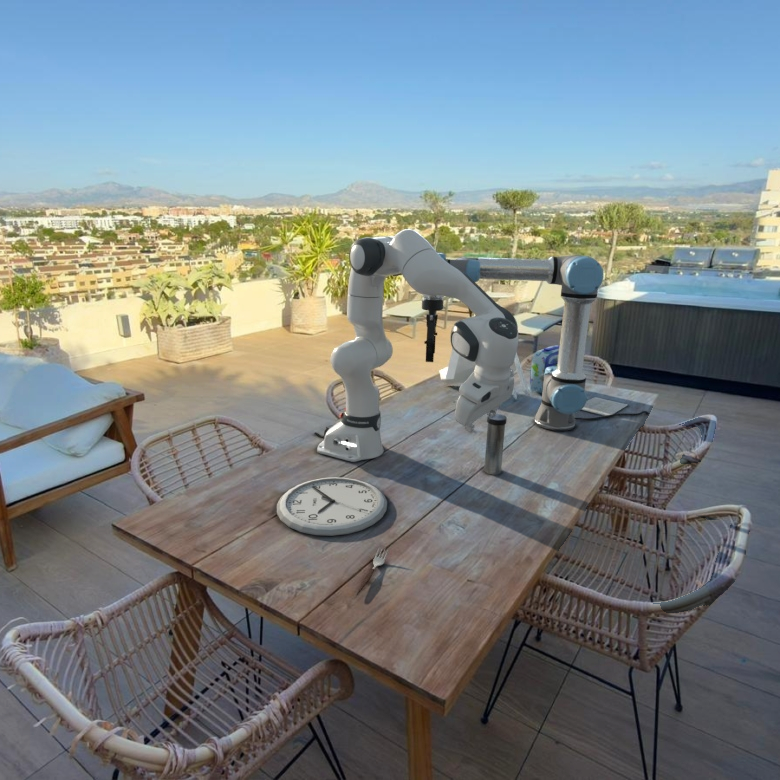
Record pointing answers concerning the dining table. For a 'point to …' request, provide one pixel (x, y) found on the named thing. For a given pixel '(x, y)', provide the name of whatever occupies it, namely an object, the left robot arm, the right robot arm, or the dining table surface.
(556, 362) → the lunch box
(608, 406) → the invitation card
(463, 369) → the white plastic object
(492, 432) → the silver metal canister
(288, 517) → the wall clock
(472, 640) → the dining table surface
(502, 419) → the lid
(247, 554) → the dining table surface
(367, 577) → the fork
